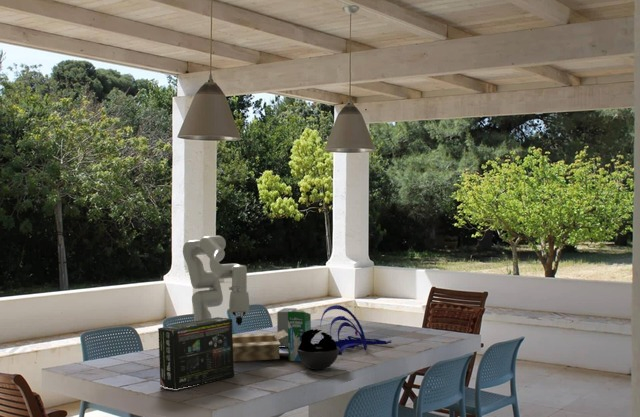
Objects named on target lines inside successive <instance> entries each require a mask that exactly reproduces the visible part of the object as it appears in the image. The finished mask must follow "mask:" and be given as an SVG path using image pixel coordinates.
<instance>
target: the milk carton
mask: <svg viewBox="0 0 640 417" xmlns="http://www.w3.org/2000/svg"><path fill="white" fill-rule="evenodd" d="M311 315H312V314H311V313H309V312H305V310H303V309H300V310H299V309H297V312H290V311H288V348H287V350H288V362H302V361H301V360H300V358H299V356H298V352H297V348H298V347H299V345H300V344H301V336H302V335H303V333H304V332H305V331H308V330H311V329H312V323H311V322H312V321H311Z"/></svg>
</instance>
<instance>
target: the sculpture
mask: <svg viewBox="0 0 640 417" xmlns="http://www.w3.org/2000/svg"><path fill="white" fill-rule="evenodd" d="M331 310H340V311H343V312H346V313H347V314H349V315H350V317H351V318H352V319H353V320H354V321H355V322H356V325H357V327H358V328H357V327H356V326H355V324H354V323H353V322H352V321H351V320H350V319H348V318H347V317H345V315H339V316H336V317H335V318H333V319H332V320H331V323H330V327H329V330H330V332H329V333H330V334H329V335H332V332H331V331H332V327H333V324H334V323H336V322H337V321H344V322H342V323H340V325H339V326H338V328H337V341H336V340H334V341H335V344H336V346H337V347H339V353H338V355H343V352H344V351H345V349H354V348H355V347H358V346H363V350H364V351H365V352H367V350H368V345H371V346H372V345H373V346H374V345H388V344H392V341H393V340H387V341H386V340H381V339H378V338H377V339H376V338H367V337H366V336H365V333H364V330H363V327H362V325H361V324H360V322H359V320H358V319H357V317H356V316H355V315H354V314H353V313H352V311H351V310H350V309H348V308H347V307H345V306H343V305H337V304H336V305H330V306H328V307H327V308H326V309H325V310H324V311H323V313H322V316H321V319H320V322H322V320H323V318H324V316H325V314H326V313H327V312H329V311H331ZM321 325H322V323H320V325H319V326H320V329H319V330H322V329H321ZM345 327H349V328H352V329H353V330H354V334H355V336H357V337H355V336H353V335H352V336H351V335H348V336H347V337H346V338H344V339H340V332H341V330H342V328H345ZM320 336H321V339H322V338H323V335H320ZM358 336H359V337H358Z"/></svg>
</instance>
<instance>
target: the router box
mask: <svg viewBox="0 0 640 417" xmlns="http://www.w3.org/2000/svg"><path fill="white" fill-rule="evenodd" d="M157 331H158V354H159V357H158V359H159V379H160V380H159V382H160V383H159V384H160V385H162V386H164V387H168V388H173V389H178V388H183V387H188V386H193V385H197V384H202V383H205V382H210V381H213V382H215V381H214V380H217V381H220V380H219V379H221V380H224V379H228V378H231V377H234V376H235V365H234V363H235V362H233V338H232V335H233V319H232V318H227V317H219V316H217V317H212V318H211V319H205V320H200V321H194V320H193V321H189V322H184V323H178V324H173V325H168V326H162V327H158V328H157ZM210 383H211V382H210ZM202 385H203V384H202Z"/></svg>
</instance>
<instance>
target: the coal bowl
mask: <svg viewBox="0 0 640 417" xmlns="http://www.w3.org/2000/svg"><path fill="white" fill-rule="evenodd" d="M319 333H320V335H321V336H322V338H321V339H319V342H316V343H312V340H313V339H314V337H315V336H316V335H317V334H319ZM335 341H336V340H334V339H333V337H332V335H331V334H329V333H326V332H324V331H322V329H318V328H317V329H316V328H315V329H313V328H311V330H308V331H305V332H304V333H303V335H302V336H301V344H300V345H299V347H298V348H297V352H298V356H299V358H300V360H301V361H300V362H301V363H302V364H304V365H305V367H308V368H309V369H311V370H317V371H319V370H320V371H321V370H324V369H327V368H330V367H331V366H332V365H333V364H334V363H335V361H336V360H337V358H338V356H339V354H338V353H339V347H337V346H336V344H335Z"/></svg>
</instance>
